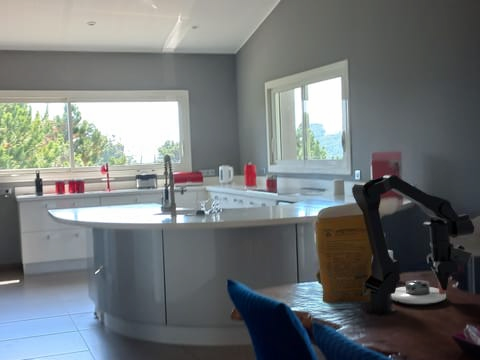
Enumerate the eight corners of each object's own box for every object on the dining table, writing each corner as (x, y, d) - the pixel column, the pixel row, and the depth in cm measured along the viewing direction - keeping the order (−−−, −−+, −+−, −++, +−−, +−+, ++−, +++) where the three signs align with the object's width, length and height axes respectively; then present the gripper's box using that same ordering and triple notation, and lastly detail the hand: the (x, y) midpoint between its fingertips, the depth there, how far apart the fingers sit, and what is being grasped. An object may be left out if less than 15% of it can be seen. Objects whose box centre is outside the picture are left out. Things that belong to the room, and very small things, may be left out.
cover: (426, 296, 172) (425, 284, 172) (402, 294, 176) (402, 282, 176) (432, 290, 178) (431, 279, 178) (409, 289, 182) (409, 277, 182)
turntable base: (425, 307, 168) (425, 304, 168) (390, 301, 177) (390, 298, 177) (444, 299, 177) (444, 296, 176) (410, 293, 185) (410, 290, 185)
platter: (437, 305, 165) (436, 288, 165) (381, 300, 175) (380, 283, 174) (451, 292, 179) (451, 276, 179) (399, 288, 189) (398, 272, 188)
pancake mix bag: (380, 303, 176) (375, 214, 175) (319, 305, 178) (314, 217, 177) (377, 297, 183) (373, 212, 182) (318, 299, 185) (313, 215, 184)
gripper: (476, 242, 161) (480, 296, 161) (460, 234, 180) (464, 282, 180) (435, 244, 163) (440, 297, 163) (424, 236, 181) (428, 284, 182)
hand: (444, 290), depth 172 cm, fingers closed
